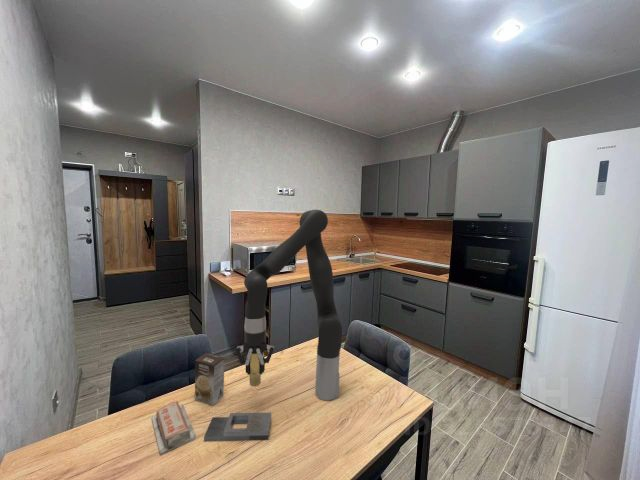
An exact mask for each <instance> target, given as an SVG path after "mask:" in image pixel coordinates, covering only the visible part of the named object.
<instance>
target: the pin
mask: <svg viewBox="0 0 640 480" xmlns="http://www.w3.org/2000/svg"><path fill="white" fill-rule="evenodd" d="M260 364H261V363H260V360H259V357H258V354H257V353H252V354H251V357H250V375H249V386H250V387H258V386H260V385H261V383H262V382H261V381H262V380H261V379H262V374H260Z"/></svg>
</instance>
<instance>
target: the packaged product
mask: <svg viewBox="0 0 640 480" xmlns="http://www.w3.org/2000/svg"><path fill="white" fill-rule="evenodd" d="M151 420H152V427H153V430H154V433H155V440H156V443H157V448H158V451H159V454H160V456H163V455H164V454H166V453H169V452H171V451H173V450H175V449H177V448H180V447H181V446H183V445H186V444H188V443H190V442H192V441H194V440H196V435H197V434H196V432H195V430H194V428H193V425H192V423H191V421H190V420H191V419H190V418H189V414H188V413H187V411H186V407H185V405H184V403H180V404H179V402H178V401H170V402H169V403H168V404H166V405H164V406H163V407H161V408H159V409H158V410H157V411H156V413H155V415H153V416H151Z"/></svg>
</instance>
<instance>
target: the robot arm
mask: <svg viewBox="0 0 640 480" xmlns="http://www.w3.org/2000/svg"><path fill="white" fill-rule="evenodd" d="M328 222H329V219H328V216H327V214H326V212H324V211H323V210H320V209H311V210H307V211H305V212H303V213H302V214H301V215H300V218H299V228H298V229H297V230H296V231H294V232H293V234H292V235H291V236H289V237H288V238H286V240H284V241H283V242H282V243H280V244H279V245H278V246H277V247H275V248H274V249H273V250H272V252H271V253H269V255H267V257H266V258H264V259H263V261H262V262H261V263H260V264H258V265H256V266H255V267H254V268H253V269H251V270H250V272H248V273H247V275H246V276H245V277H244V281H243V282H244V283H243V284H244V287H245V288H246V290H247V291H246V293H247V300H246V302H245V306H244V307H245V309H244V313H245V317H244V325H243V326H244V328H243V329H244V343H243V345H237V347H236V349H235V352H236V355H237V357H238V361H239V363H240V364H241V365H243V364H244V365H245V374H247V376H250V357H251V354H252V353H257V354H258V357H259V360H260V363H261V364H260V374H261V375H263V373H265V369H266V368H265V367H266V366H265V365H266V364H269V363H270V360H271V358H272V355H273V352H274V349H275V344H271V345H270V344H268V343H267V320H266V302H267V296H268V282H267V281H268V280H269V279H270V278H271V277H273V276H277V275H278V274H279V273H281V271H282V270H283V269H284V268H285V267H286V266H287V265H288V264H289V262H290V261H291V260H292V259H293V258H294V257H295V256H296V255H297V254H298V253H299V252H300V251H301V250H302V249H303V248H304V247H305V253H306V259H307V261H306V262H307V266H308V274H309V280H310V284H311V289H312V293H313V295H314V298H315V302H316V311H317V327H318V338H317V346H316V347H317V348H316V366H315V367H316V368H315V388H314V389H315V391H314V393H315V396H316V397H317V398H318V399H319V400H321V401H333V400H335V399H339V397H340V396H339V394H340V379H341V377H340V372H339V371H340V355H341V349H342V341H343V325H342V322H341V320H340V317H339V314H338V313H337V308H336V304H335V299H334V293H335V292H334V291H335V290H334V289H335V285H334V284H335V283H334V275H333V273H334V272H333V268H332V264H331V261H330V257H329V256H328V253H327V252H326V249H325V248H324V244H323V239H322V233H323V232H324V231H326V228H327V226H328V224H329V223H328ZM266 349H267V351H266ZM244 351H245V352H246V354H247V355H246V358H245V354H244ZM265 351H266V352H268V353H267V356H266V357H265V354H264V352H265Z"/></svg>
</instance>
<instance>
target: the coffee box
mask: <svg viewBox="0 0 640 480" xmlns="http://www.w3.org/2000/svg"><path fill="white" fill-rule="evenodd" d="M194 363H195V364H194V365H195V368H194V369H195V371H194V401H195V400H196V401H197V402H201V403H203V404H206V405H209V406H212V407H213V406H215V405H216V404H217V403H218V402H219V401H220V400H221V399H222V398H223V397H224V395H225V394H224V391H225V357H224V356H220V355H217V354H214V353H210V352H206V353H204V354H203V355H201V356H199V357H198V358H197V359H195V361H194Z"/></svg>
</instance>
